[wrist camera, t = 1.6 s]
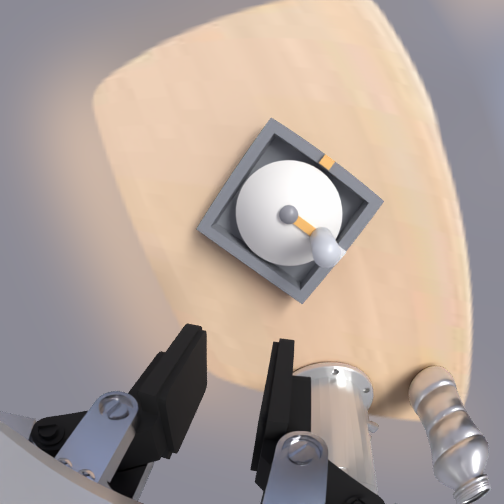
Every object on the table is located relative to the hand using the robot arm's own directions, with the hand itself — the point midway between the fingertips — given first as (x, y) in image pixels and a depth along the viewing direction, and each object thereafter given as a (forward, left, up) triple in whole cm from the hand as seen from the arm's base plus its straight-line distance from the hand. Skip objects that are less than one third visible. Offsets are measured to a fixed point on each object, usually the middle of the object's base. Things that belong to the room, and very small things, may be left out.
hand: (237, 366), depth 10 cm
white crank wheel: (+1, -3, -18) cm, 18 cm away
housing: (+1, -3, -19) cm, 19 cm away
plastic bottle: (-27, +3, -19) cm, 33 cm away
